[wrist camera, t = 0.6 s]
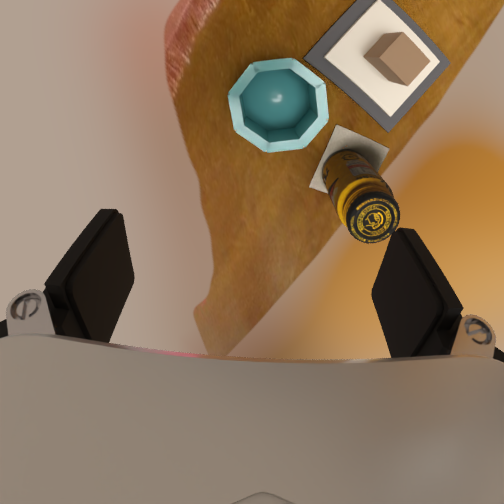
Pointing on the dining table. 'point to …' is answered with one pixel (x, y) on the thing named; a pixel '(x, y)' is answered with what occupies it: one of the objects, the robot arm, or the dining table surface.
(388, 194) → the condiment
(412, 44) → the lid
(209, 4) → the dining table surface
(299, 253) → the dining table surface
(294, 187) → the dining table surface
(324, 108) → the bowl
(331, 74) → the mat
